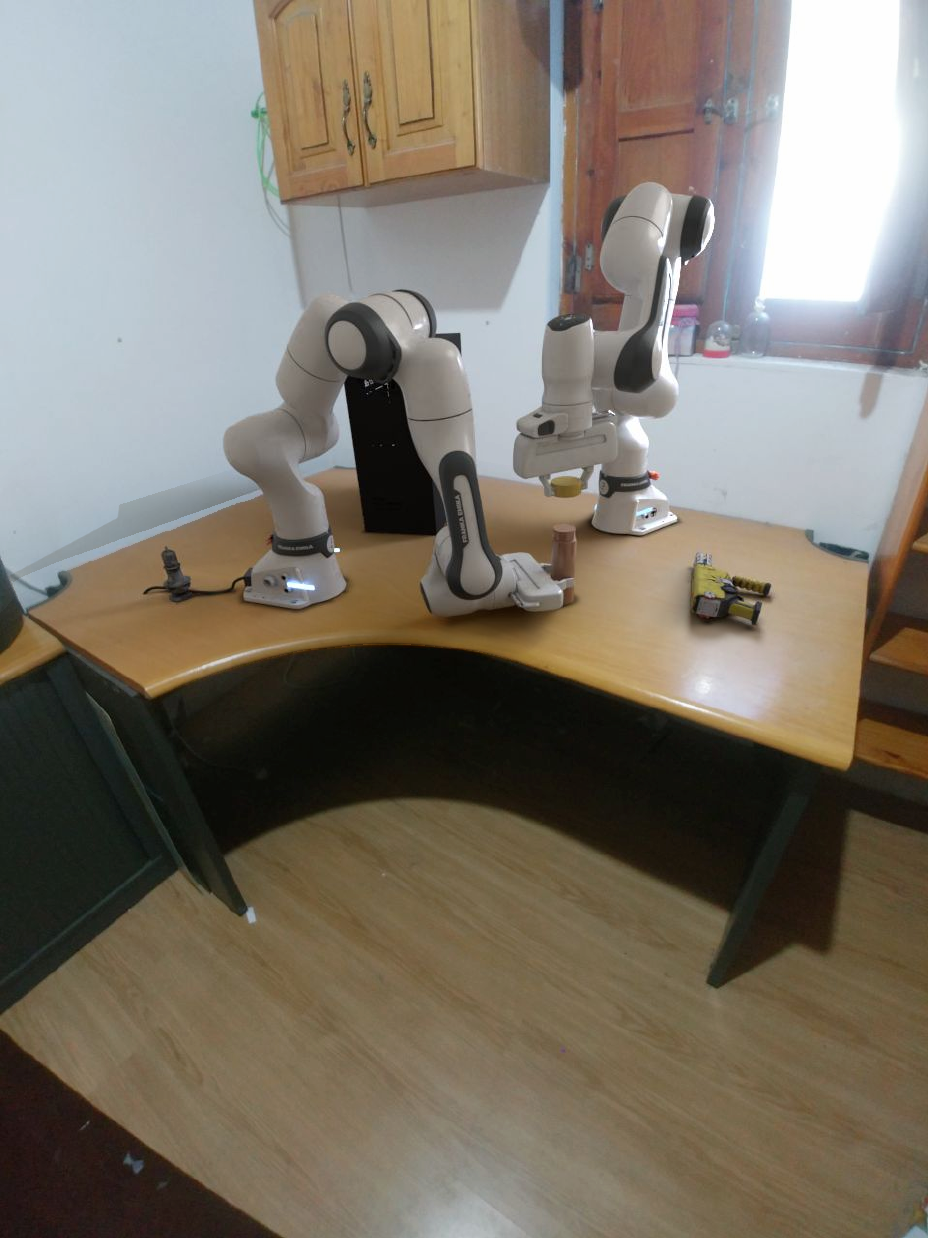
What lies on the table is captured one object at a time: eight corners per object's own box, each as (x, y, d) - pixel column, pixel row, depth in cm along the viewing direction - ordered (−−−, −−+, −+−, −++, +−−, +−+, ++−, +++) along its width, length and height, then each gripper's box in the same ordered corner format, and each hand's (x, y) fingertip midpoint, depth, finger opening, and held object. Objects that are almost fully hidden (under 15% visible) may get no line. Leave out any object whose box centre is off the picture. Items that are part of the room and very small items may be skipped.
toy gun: (769, 561, 128) (696, 549, 132) (782, 610, 108) (695, 594, 112) (763, 581, 130) (691, 569, 134) (774, 633, 110) (689, 616, 114)
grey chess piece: (185, 602, 132) (169, 552, 126) (162, 601, 134) (144, 551, 128) (200, 590, 137) (185, 541, 131) (177, 588, 139) (162, 540, 133)
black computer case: (436, 534, 159) (422, 349, 137) (364, 531, 164) (339, 351, 141) (468, 489, 191) (460, 332, 168) (407, 487, 195) (391, 335, 173)
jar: (575, 595, 126) (579, 524, 119) (571, 606, 123) (574, 533, 115) (552, 592, 128) (554, 522, 120) (547, 603, 124) (549, 531, 116)
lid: (556, 486, 117) (556, 474, 116) (585, 489, 115) (585, 477, 114) (545, 496, 113) (545, 484, 112) (575, 499, 111) (575, 487, 109)
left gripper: (519, 594, 110) (589, 582, 112) (487, 551, 127) (548, 542, 130) (519, 624, 113) (587, 611, 115) (488, 578, 130) (548, 568, 133)
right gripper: (607, 405, 112) (603, 478, 119) (507, 422, 107) (510, 497, 114) (627, 411, 107) (622, 486, 114) (523, 429, 101) (525, 507, 108)
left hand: (566, 574), depth 123 cm, fingers closed on jar, 5 cm apart
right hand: (565, 492), depth 114 cm, fingers closed on lid, 5 cm apart
